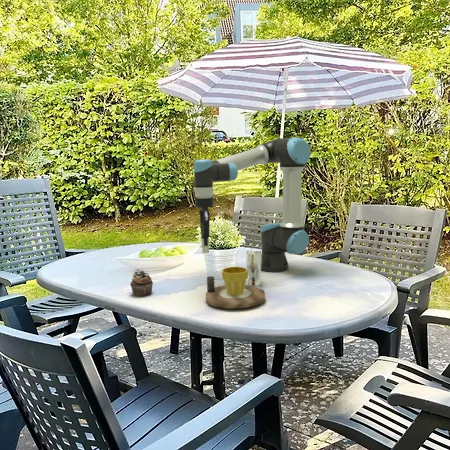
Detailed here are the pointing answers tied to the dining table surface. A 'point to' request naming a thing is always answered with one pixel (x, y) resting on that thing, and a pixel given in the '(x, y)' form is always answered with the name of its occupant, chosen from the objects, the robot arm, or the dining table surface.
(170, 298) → the dining table surface
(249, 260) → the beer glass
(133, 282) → the cupcake
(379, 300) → the dining table surface
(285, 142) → the robot arm
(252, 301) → the turntable
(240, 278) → the plant pot
